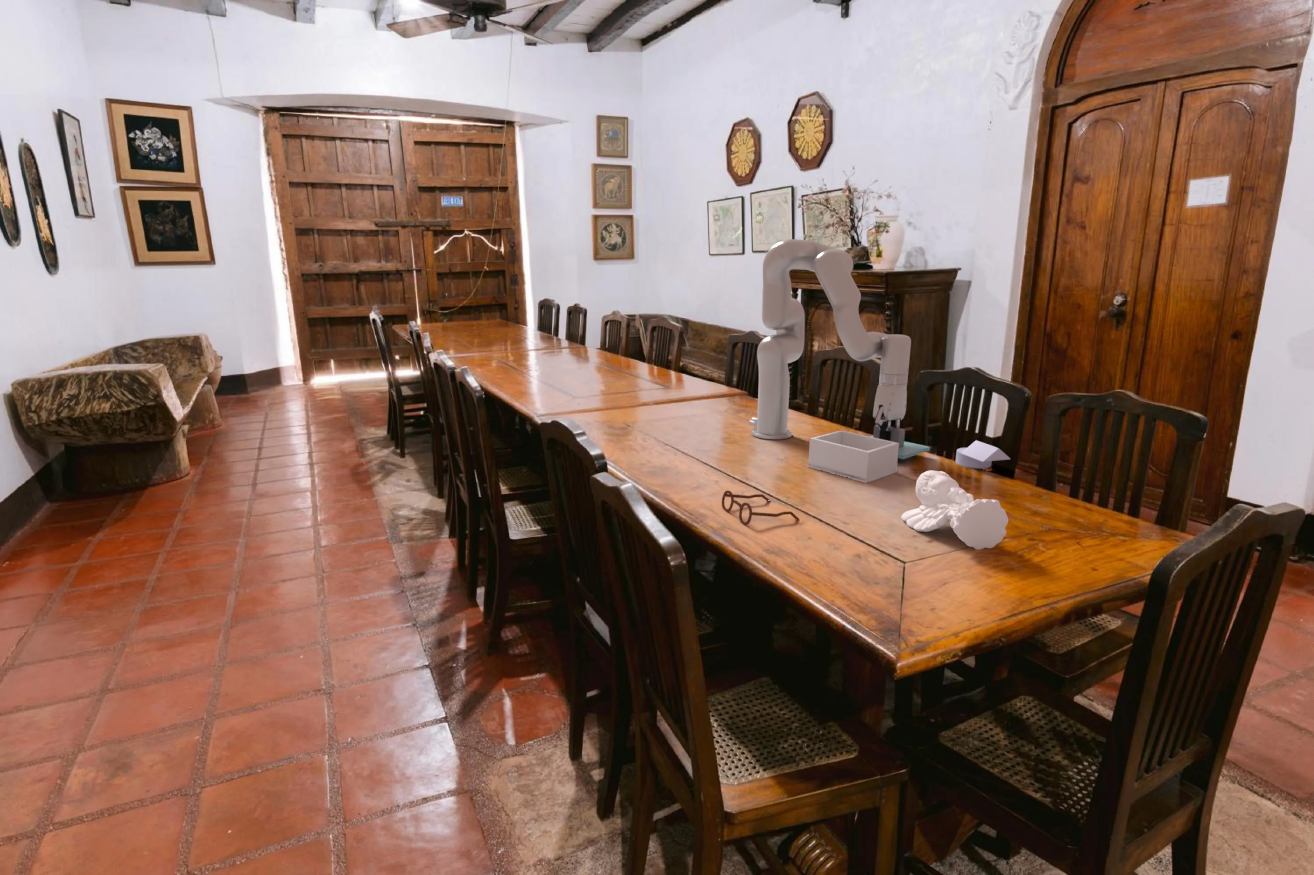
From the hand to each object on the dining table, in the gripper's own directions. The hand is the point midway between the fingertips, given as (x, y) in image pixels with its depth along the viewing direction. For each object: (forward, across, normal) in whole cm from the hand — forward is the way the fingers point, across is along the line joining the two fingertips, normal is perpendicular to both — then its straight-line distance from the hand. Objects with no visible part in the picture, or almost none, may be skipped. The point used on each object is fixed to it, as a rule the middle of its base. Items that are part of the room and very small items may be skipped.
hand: (887, 442), depth 202 cm
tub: (+4, +20, +2) cm, 20 cm away
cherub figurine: (+4, +42, +40) cm, 59 cm away
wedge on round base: (+4, -10, +22) cm, 24 cm away
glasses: (+4, +64, +8) cm, 64 cm away
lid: (+2, 0, 0) cm, 2 cm away
